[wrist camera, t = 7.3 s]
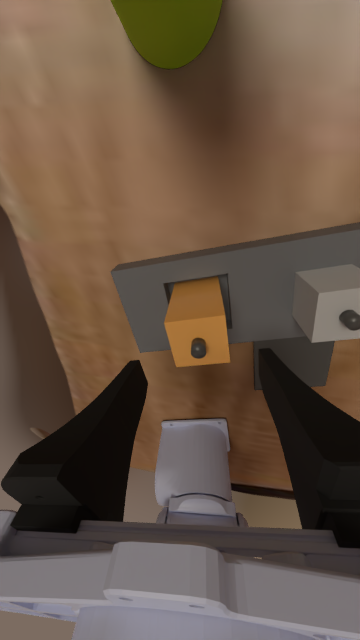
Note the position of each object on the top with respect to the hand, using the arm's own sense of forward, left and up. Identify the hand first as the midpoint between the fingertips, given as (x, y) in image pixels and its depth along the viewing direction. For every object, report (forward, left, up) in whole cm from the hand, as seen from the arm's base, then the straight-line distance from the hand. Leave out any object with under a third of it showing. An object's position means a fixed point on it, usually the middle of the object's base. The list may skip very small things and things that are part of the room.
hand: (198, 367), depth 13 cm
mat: (+9, -9, -10) cm, 16 cm away
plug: (0, 0, -9) cm, 9 cm away
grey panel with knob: (+9, 0, -10) cm, 13 cm away
